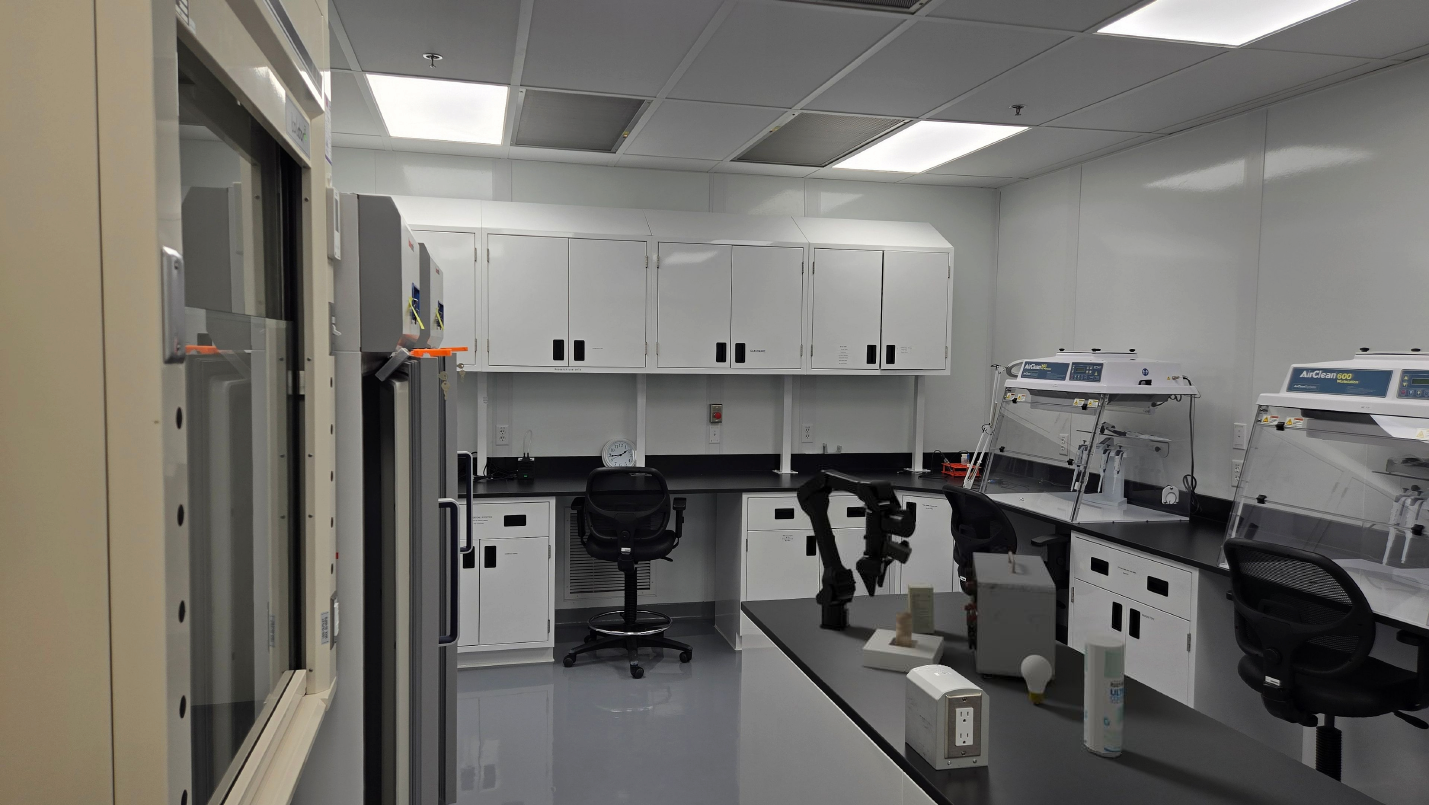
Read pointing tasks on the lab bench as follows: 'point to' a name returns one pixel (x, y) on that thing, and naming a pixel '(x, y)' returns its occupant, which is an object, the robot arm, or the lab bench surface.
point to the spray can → (1103, 693)
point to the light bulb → (1036, 676)
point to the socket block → (901, 651)
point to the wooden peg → (904, 629)
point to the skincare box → (921, 607)
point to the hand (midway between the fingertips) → (876, 591)
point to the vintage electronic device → (1010, 612)
